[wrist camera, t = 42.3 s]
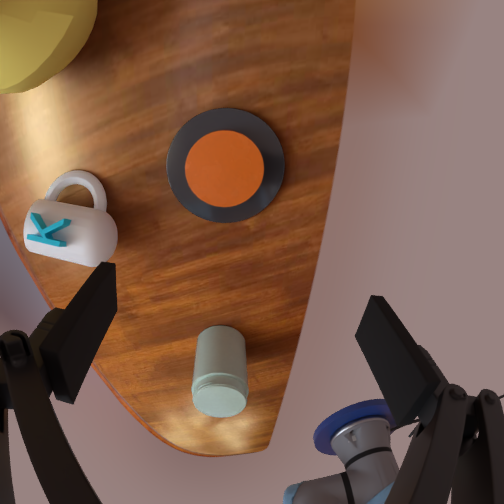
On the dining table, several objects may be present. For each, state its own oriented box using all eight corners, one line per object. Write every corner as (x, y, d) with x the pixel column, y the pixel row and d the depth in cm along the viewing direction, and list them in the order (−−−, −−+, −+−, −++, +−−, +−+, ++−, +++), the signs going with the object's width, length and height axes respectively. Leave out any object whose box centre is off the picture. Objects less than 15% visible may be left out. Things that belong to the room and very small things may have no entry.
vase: (110, -46, 23) (48, -111, 6) (125, 62, 31) (43, 30, 14) (3, 11, 24) (-81, -8, 6) (13, 114, 31) (-86, 133, 14)
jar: (249, 328, 47) (254, 387, 37) (241, 363, 50) (244, 421, 40) (198, 322, 47) (191, 380, 36) (195, 358, 50) (189, 416, 39)
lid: (195, 123, 34) (193, 123, 32) (270, 138, 35) (272, 140, 33) (181, 194, 38) (178, 199, 35) (252, 208, 39) (253, 214, 37)
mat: (293, 119, 35) (294, 119, 35) (271, 227, 41) (272, 230, 40) (176, 101, 34) (174, 101, 33) (162, 212, 39) (161, 215, 38)
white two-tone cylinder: (96, 275, 31) (12, 253, 29) (118, 269, 40) (44, 251, 38) (118, 167, 31) (32, 155, 30) (135, 183, 40) (61, 171, 39)
